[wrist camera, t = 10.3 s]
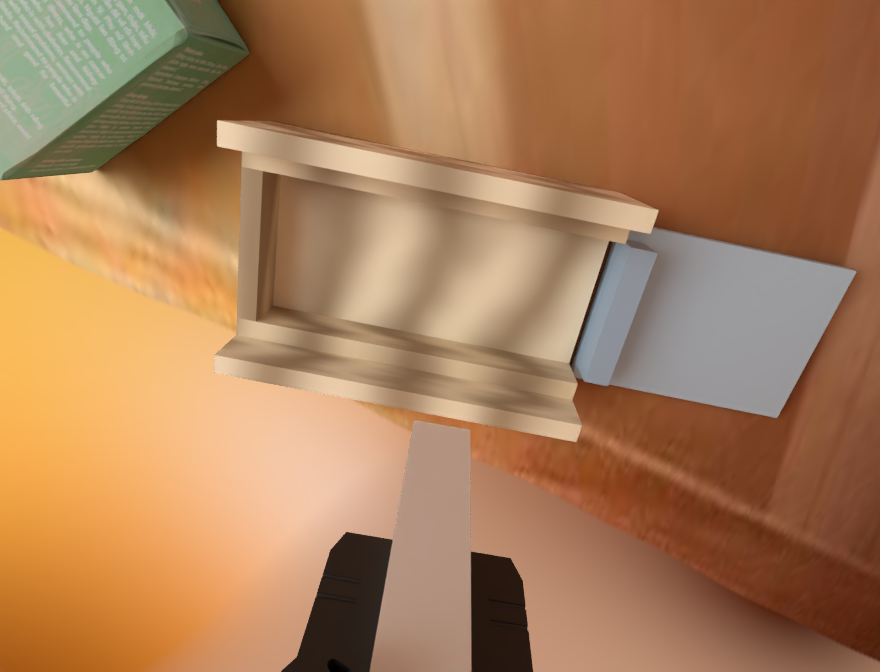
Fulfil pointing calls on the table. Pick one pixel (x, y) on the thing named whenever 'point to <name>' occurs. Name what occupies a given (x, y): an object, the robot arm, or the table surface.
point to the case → (415, 276)
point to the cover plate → (707, 320)
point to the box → (100, 75)
